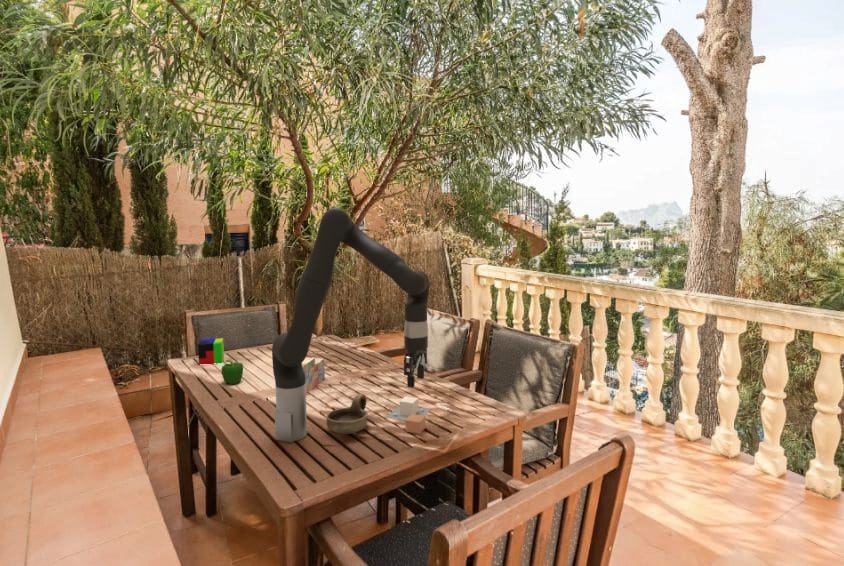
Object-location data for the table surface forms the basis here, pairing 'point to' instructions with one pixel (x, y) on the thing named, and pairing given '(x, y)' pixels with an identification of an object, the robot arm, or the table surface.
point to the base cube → (408, 406)
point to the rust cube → (415, 423)
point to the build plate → (396, 415)
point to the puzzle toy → (211, 351)
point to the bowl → (349, 417)
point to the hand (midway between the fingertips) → (415, 382)
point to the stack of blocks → (313, 372)
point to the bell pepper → (232, 372)
